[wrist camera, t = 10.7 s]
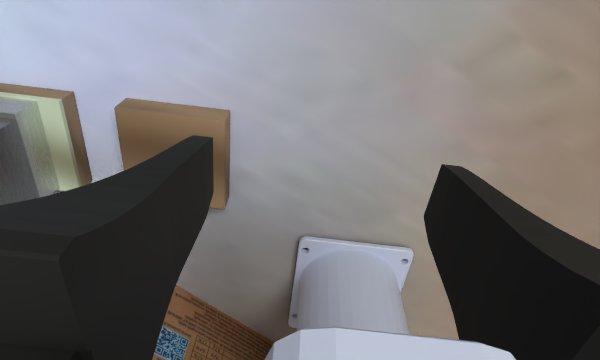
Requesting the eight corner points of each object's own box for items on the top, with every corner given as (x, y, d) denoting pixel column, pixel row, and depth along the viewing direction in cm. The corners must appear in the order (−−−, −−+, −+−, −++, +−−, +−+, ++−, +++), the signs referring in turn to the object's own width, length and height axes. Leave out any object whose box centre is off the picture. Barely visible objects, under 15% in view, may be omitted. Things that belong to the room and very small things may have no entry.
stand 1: (92, 180, 25) (80, 192, 24) (-1, 169, 25) (-18, 181, 24) (73, 91, 22) (58, 101, 21) (-33, 79, 22) (-54, 87, 21)
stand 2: (229, 195, 26) (224, 209, 24) (138, 185, 25) (128, 198, 24) (230, 110, 22) (224, 120, 21) (126, 98, 22) (114, 107, 21)
